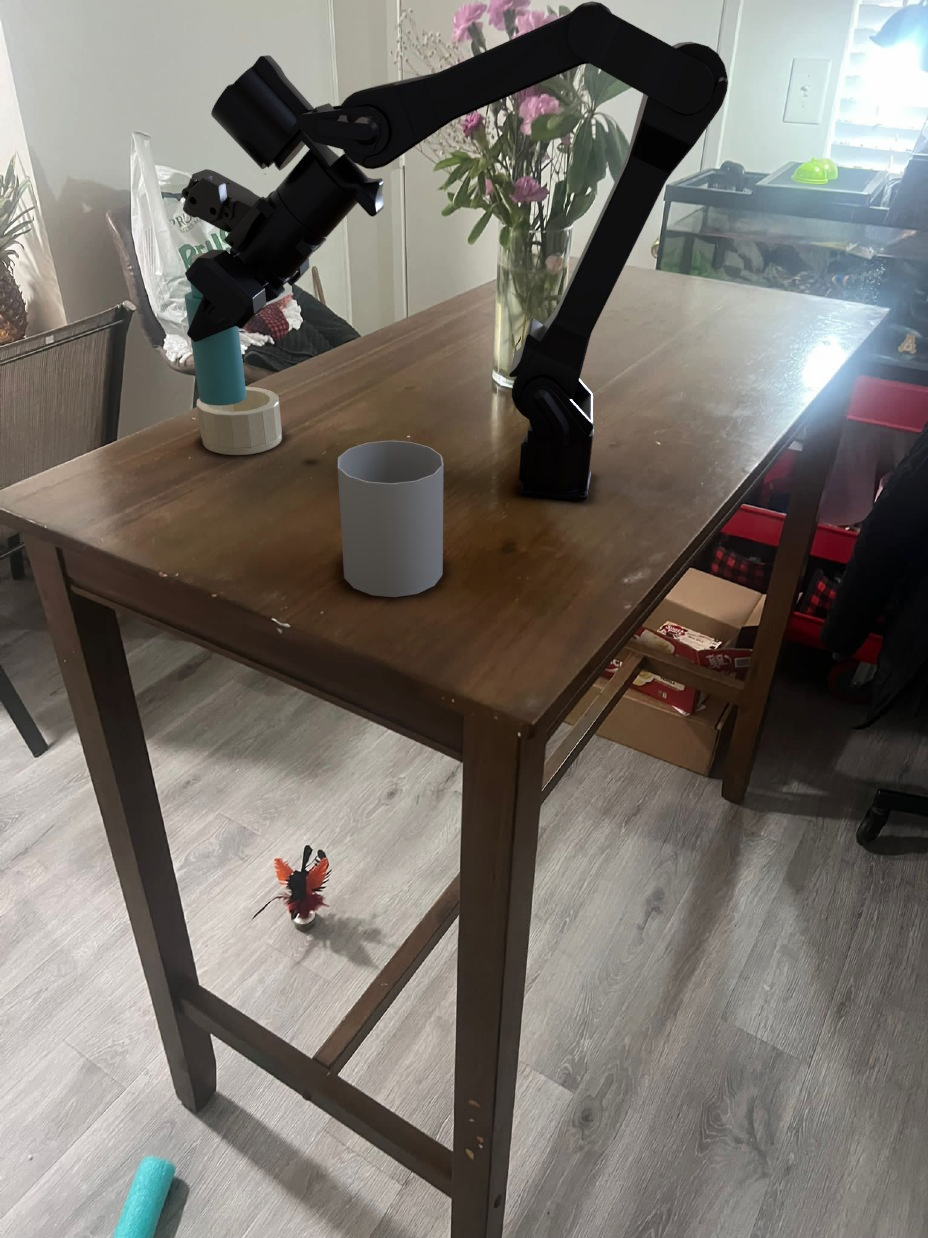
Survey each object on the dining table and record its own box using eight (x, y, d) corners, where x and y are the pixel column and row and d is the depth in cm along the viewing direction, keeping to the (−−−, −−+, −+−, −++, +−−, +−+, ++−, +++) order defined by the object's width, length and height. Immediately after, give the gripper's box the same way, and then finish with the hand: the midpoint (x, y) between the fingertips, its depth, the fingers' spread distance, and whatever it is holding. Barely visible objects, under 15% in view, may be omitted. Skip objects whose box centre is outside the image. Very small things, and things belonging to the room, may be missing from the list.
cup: (418, 605, 72) (418, 491, 67) (326, 585, 75) (318, 473, 69) (456, 557, 79) (458, 449, 74) (370, 539, 81) (366, 434, 76)
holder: (293, 428, 103) (289, 390, 100) (265, 458, 96) (261, 417, 93) (221, 422, 104) (216, 383, 101) (189, 451, 97) (182, 410, 94)
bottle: (256, 397, 91) (240, 255, 84) (218, 409, 88) (199, 263, 81) (227, 386, 94) (209, 247, 86) (189, 397, 91) (168, 255, 83)
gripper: (266, 126, 85) (172, 245, 92) (192, 149, 70) (86, 290, 77) (352, 219, 89) (255, 327, 96) (300, 261, 73) (189, 386, 81)
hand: (200, 330), depth 87 cm, fingers closed on bottle, 4 cm apart
